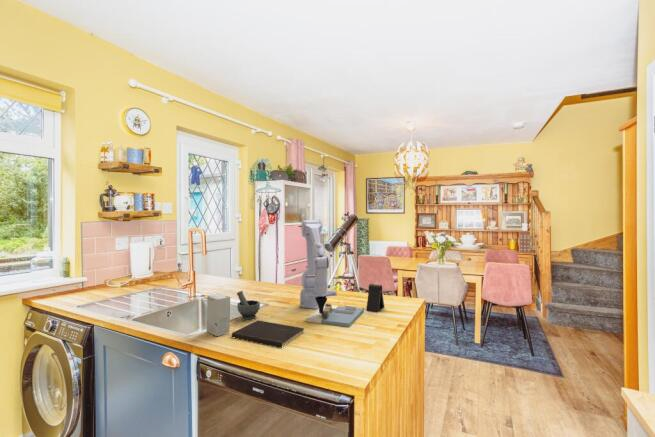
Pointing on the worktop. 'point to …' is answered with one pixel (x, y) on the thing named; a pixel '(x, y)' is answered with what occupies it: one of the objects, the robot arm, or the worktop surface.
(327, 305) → the swing bar
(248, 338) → the hardcover book
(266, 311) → the worktop surface
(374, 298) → the phone stand
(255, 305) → the mortar and pestle
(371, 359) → the worktop surface
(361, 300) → the worktop surface
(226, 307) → the skincare box
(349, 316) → the door panel
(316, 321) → the jamb plate
